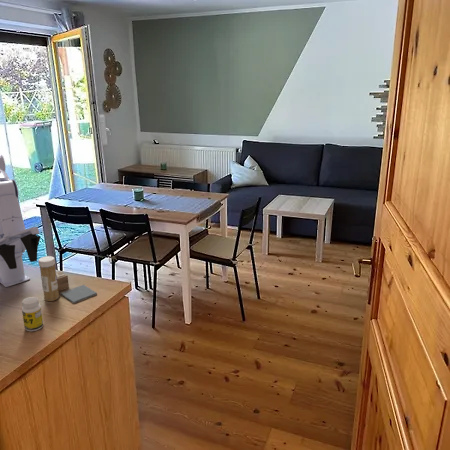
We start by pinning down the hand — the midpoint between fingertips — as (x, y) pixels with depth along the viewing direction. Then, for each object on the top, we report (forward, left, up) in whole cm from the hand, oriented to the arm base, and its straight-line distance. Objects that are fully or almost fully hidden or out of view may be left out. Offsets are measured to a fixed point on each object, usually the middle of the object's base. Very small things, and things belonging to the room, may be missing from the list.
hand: (23, 265), depth 122 cm
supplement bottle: (+11, -4, -14) cm, 18 cm away
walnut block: (-6, +12, -14) cm, 19 cm away
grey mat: (+3, +14, -14) cm, 20 cm away
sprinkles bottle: (-1, +7, -14) cm, 16 cm away
